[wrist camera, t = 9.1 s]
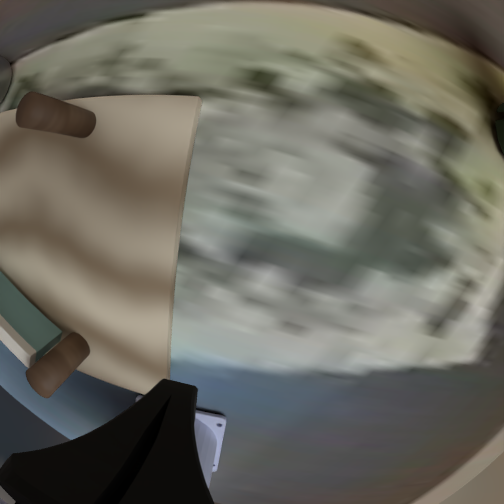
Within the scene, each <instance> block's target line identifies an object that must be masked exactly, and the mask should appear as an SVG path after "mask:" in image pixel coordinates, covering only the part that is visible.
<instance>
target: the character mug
mask: <svg viewBox="0 0 504 504" xmlns="http://www.w3.org/2000/svg"><path fill="white" fill-rule="evenodd" d="M497 112H504V103H502V104H501V105H500V106H499V108H498V109H497ZM496 130H497V136H498V141H499V144H500V146H501V149H502V151H503V154H504V120H498V121H496Z"/></svg>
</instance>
